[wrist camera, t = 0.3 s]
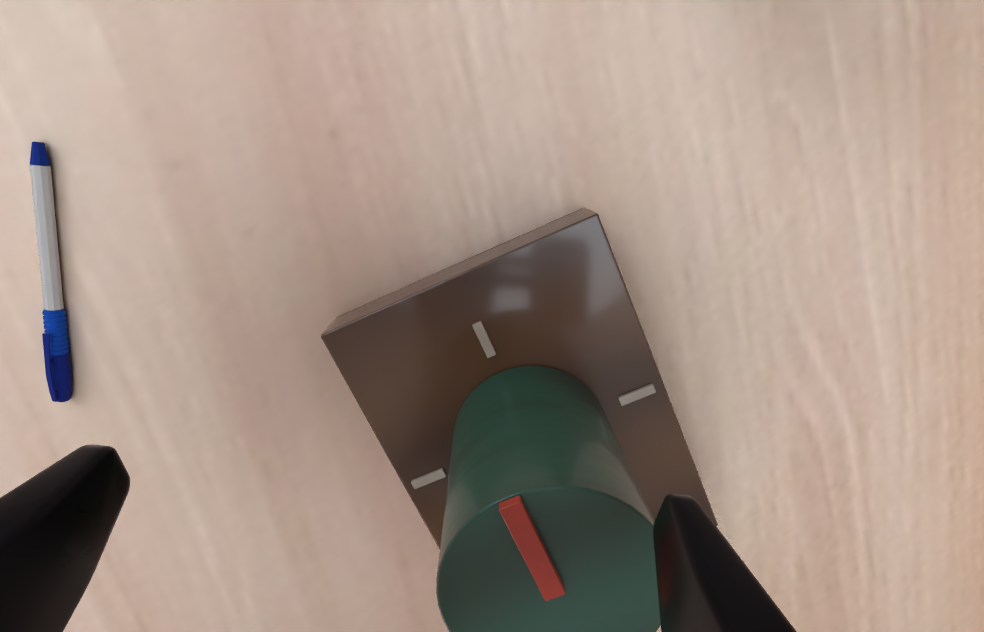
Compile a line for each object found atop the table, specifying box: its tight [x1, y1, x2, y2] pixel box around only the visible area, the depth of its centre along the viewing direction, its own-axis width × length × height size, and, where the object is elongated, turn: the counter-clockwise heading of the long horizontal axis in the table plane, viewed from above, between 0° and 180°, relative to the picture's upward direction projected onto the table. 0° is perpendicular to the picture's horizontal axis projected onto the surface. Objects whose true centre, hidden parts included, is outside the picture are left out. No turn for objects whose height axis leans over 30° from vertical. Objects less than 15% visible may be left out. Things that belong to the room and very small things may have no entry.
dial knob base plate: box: [321, 208, 717, 549], centre depth 23 cm, size 14×11×3 cm
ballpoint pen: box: [30, 142, 72, 402], centre depth 22 cm, size 10×1×1 cm, turn 174°
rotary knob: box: [436, 366, 661, 632], centre depth 18 cm, size 6×6×8 cm
